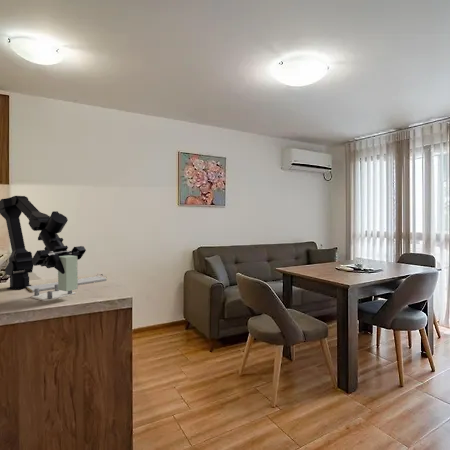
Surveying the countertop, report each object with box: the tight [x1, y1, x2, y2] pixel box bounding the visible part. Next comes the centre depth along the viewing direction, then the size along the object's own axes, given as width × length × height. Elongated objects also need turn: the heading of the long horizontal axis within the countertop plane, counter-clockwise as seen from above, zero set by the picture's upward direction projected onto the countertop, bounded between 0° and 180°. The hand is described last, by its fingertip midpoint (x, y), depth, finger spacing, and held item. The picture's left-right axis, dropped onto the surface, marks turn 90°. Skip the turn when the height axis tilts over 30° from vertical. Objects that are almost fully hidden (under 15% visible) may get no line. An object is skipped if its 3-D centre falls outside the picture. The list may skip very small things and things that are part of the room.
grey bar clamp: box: [25, 273, 108, 293], centre depth 139 cm, size 31×3×12 cm
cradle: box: [30, 284, 77, 302], centre depth 119 cm, size 10×12×3 cm
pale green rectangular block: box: [57, 255, 79, 291], centre depth 114 cm, size 5×4×12 cm
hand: (70, 272), depth 114 cm, fingers closed on pale green rectangular block, 4 cm apart
